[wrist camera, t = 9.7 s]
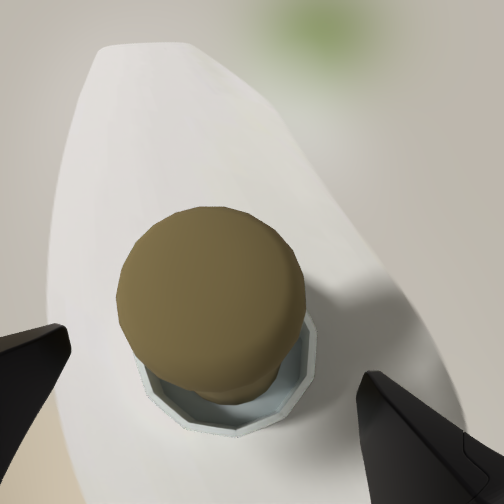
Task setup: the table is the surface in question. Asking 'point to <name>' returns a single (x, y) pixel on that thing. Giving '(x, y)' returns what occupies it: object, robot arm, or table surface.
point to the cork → (212, 303)
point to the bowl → (247, 414)
